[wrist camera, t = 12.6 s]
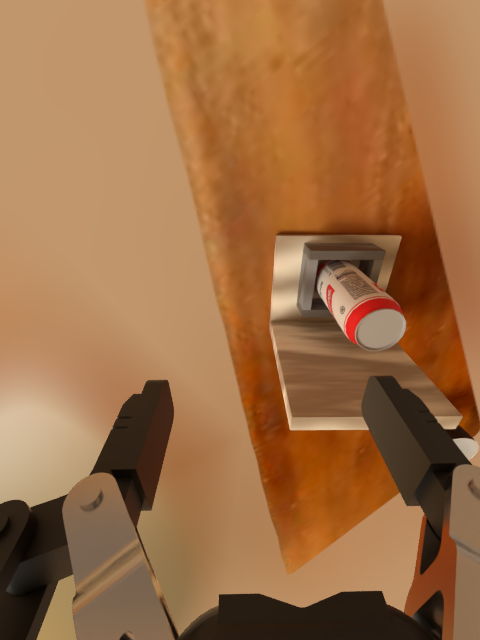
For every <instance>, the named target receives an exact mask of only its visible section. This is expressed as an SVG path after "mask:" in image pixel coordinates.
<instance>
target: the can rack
mask: <svg viewBox="0 0 480 640" xmlns="http://www.w3.org/2000/svg"><path fill="white" fill-rule="evenodd" d="M401 239H402V236H400V235H290V234H276V242H275V256H274V270H273V284H272V298H271V312H270V326H269V329H270V333H271V338H272V343H273V348H274V353H275V358H276V363H277V368H278V373H279V378H280V382H281V387H282V392H283V397H284V402H285V407H286V412H287V417H288V422H289V426H290V430H369V428H368V426H367V424H366V422H365V420H364V418H363V415H362V411H361V403H362V399H363V396H364V393H365V389H366V386H367V383H368V379H369V377H370V376H386V375H391V376H393V377H394V378H395V379H396V380H397V382H398V383H399V384H400V386H401V387H402V389H409V390H410V391H411V392H412V393H414V394H415V395H416V396H418V397H419V398H420V399H421V400H422V401H423V402H424V404H425V405H426V406H427V408H428V409H429V410H430V413H432V414H433V415H434V417H435V418H436V419H437V420H438V423H440V424H441V426H442V427H443V428H444V429H456V427H457V426H458V424H459V422H460V421H461V419H462V417H463V416H462V415H461V413H460V412H459V411H458V410H457V409H456V408H455V407H454V406H453V405H452V404H451V402H450V401H449V400H448V399H447V398H446V397H445V396H444V395H443V394H442V392H441V391H440V390H439V389H438V388H437V387H436V386H435V385H434V384H433V382H432V381H431V380H430V379H429V378H428V377H427V376H426V375H425V374H424V373H423V371H422V370H421V369H420V368H419V367H418V366H417V365H416V364H415V363H414V361H413V360H412V359H411V358H410V357H409V356H408V355H407V354H406V353H405V352H404V350H403V349H402V348H401V347H400V346H399V345H398V344H397V343H396V344H394V345H393V346H391V347H389V348H387V349H385V350H380V351H368V350H365V349H363V348H362V347H360V346H359V345H357V344H354V343H353V342H352V341H351V340H349V339H348V338H347V337H346V335H345V334H344V332H343V330H342V329H341V327H340V326H339V324H338V323H337V321H336V320H335V318H334V317H333V315H332V314H331V312H330V310H329V309H328V307H327V306H326V304H325V303H324V301H323V300H322V298H321V297H320V295H319V293H318V292H317V290H316V288H315V286H314V285H315V278H316V272H317V268H318V267H319V266H320V265H321V264H322V263H323V262H325V261H327V260H348V261H350V262H351V263H352V264H353V265H354V266H355V267H357V268H358V269H359V270H360V271H361V272H362V273H364V274H365V275H366V276H367V277H368V278H369V279H371V280H372V281H373V282H374V283H375V284H376V285H378V286H379V287H380V288H381V289H382V290H383V291H385V292H386V289H387V285H388V282H389V279H390V275H391V272H392V269H393V265H394V262H395V259H396V255H397V252H398V249H399V245H400V242H401Z"/></svg>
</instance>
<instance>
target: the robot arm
mask: <svg viewBox="0 0 480 640" xmlns="http://www.w3.org/2000/svg"><path fill="white" fill-rule="evenodd" d="M361 411H362V415H363V418H364V420H365V422H366V424H367V426H368V428H369V431H370V433H371V435H372V437H373V439H374V441H375V443H376V445H377V447H378V449H379V451H380V453H381V455H382V457H383V459H384V461H385V463H386V465H387V467H388V469H389V471H390V473H391V475H392V477H393V479H394V481H395V483H396V485H397V487H398V489H399V491H400V493H401V495H402V497H403V499H404V501H405V503H406V505H407V506H421V508H422V509H423V512H424V513H425V514H424V516H423V519H422V525H421V532H420V539H419V546H418V553H417V560H416V567H415V574H414V579H413V583H412V586H411V588H410V590H409V593H408V596H407V600H406V604H405V609H404V612H402V611H400V610H398V609H396V608H394V607H392V606H390V605H387V604H386V602H385V599H384V596H383V593H382V591H361V592H360V591H357V592H340V593H338V594H336V595H333V596H331V597H329V598H326V599H324V600H322V601H319V602H318V603H315V604H313V605H310V606H308V607H305V608H300V607H296V606H294V605H291V604H288V603H285V602H282V601H279V600H276V599H273V598H270V597H267V596H264V595H261V594H223V595H219V606H217V607H214V608H212V609H210V610H208V611H207V612H205V613H204V614H202V615H200V616H199V617H198V618H197V619H196V620H194V621H193V622H192V623H191V624H190V625H189V626H188V627H187V628H186V629H185V630H184V632H183V633H182V634H181V635H180V636H179V634H178V631H177V629H176V626H175V623H174V621H173V618H172V615H171V613H170V610H169V608H168V605H167V603H166V600H165V598H164V595H163V593H162V591H161V588H160V586H159V583H158V581H157V578H156V575H155V573H154V570H153V568H152V565H151V563H150V560H149V557H148V555H147V552H146V549H145V547H144V544H143V541H142V539H141V536H140V534H139V531H138V528H137V523H138V519H139V516H140V512H141V511H144V510H146V511H147V510H151V509H152V505H153V501H154V497H155V493H156V489H157V485H158V481H159V477H160V473H161V469H162V464H163V460H164V456H165V452H166V448H167V444H168V440H169V436H170V432H171V428H172V424H173V418H174V407H173V402H172V397H171V392H170V387H169V383H168V380H148V381H147V382H146V384H145V386H144V389H143V391H142V394H133V395H132V396H131V397H130V398H129V399H128V400H127V401H126V402H125V403H124V404H123V406H122V408H121V410H120V412H119V415H118V418H117V419H116V421H115V423H114V425H113V429H112V430H111V432H110V434H109V436H108V438H107V440H106V443H105V445H104V447H103V449H102V451H101V453H100V455H99V457H98V460H97V462H96V464H95V466H94V469H93V470H92V472H91V473H90V475H89V476H88V477H86V478H84V479H82V480H81V481H80V482H78V483H77V484H76V485H75V486H74V487H73V488H72V490H71V491H70V492H69V493H68V494H67V495H65V496H62V497H60V498H57V499H54V500H51V501H48V502H45V503H42V504H39V505H36V506H33V507H31V508H30V507H29V506H28V505H27V504H26V503H25V502H24V501H21V500H11V501H7V502H4V503H2V504H0V640H36V639H37V636H38V634H39V631H40V628H41V626H42V623H43V621H44V618H45V615H46V613H47V610H48V607H49V605H50V602H51V599H52V597H53V594H54V592H55V589H56V586H57V583H58V581H59V580H61V579H63V578H66V577H68V576H70V575H72V574H73V575H74V581H75V587H76V595H75V597H74V598H73V602H72V611H73V620H74V626H75V632H76V638H77V640H480V467H477V466H474V465H472V464H471V463H470V462H469V460H468V459H467V458H466V456H465V455H464V454H463V453H462V451H461V450H460V449H459V447H458V446H457V445H456V444H455V442H454V441H453V440H452V438H451V437H450V436H449V435H448V433H447V432H446V431H445V429H444V428H443V427H442V426H441V424H440V423H438V420H437V419H436V418H435V417H434V415H433V414H432V413H430V410H429V409H428V408H427V406H426V405H425V404H424V402H423V401H422V400H421V399H420V398H419V397H418V396H416V395H415V394H414V393H412V392H411V391H410V390H409V389H402V387H401V386H400V384H399V383H398V382H397V380H396V379H395V378H394V377H393V376H391V375H386V376H370V377H369V379H368V383H367V386H366V389H365V393H364V396H363V399H362V403H361Z"/></svg>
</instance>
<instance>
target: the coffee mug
mask: <svg viewBox="0 0 480 640" xmlns="http://www.w3.org/2000/svg"><path fill="white" fill-rule="evenodd" d="M445 431H446V432H447V433H448V435H449V436H450V437H451V438H452V440H453V441H454V442H455V444H456V445H457V446H458V447H459V449H460V450H461V451H462V453H463V454H464V455H465V456H466V458H467V459H468V460H470V459H471V458H473V457H474V456H475V455H476V454H477V452H478V450H479V444H478V443H477V442H476V441H475V440H474V439H473V438H472V437H471V436H470V435H469V434H468V433H467V432H466V431H465V430H464V429H463V428H462V427H460V426H459V425H458V426H457V427H456V429H445Z"/></svg>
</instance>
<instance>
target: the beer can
mask: <svg viewBox="0 0 480 640" xmlns="http://www.w3.org/2000/svg"><path fill="white" fill-rule="evenodd" d="M314 286H315V288H316V290H317V292H318V293H319V295H320V297H321V298H322V300H323V301H324V303H325V304H326V306H327V307H328V309H329V310H330V312H331V314H332V315H333V317H334V318H335V320H336V321H337V323H338V324H339V326H340V327H341V329H342V330H343V332H344V334H345V335H346V337H347V338H348V339H349V340H351V341H352V342H353V343H354V344H357V345H359V346H360V347H362V348H363V349H365V350H368V351H380V350H385V349H387V348H389V347H391V346H393V345H394V344H396V343H397V342H398V341H399V340H400V339H401V337H402V336H403V335H404V332H405V330H406V320H405V318H404V316H403V313H402V310H401V307H400V305H399V304H398V303H397V302H396V301H395V300H394V299H393V298H392V297H390V296H389V295H388V294H387V293H386V292H385V291H383V290H382V289H381V288H380V287H379V286H378V285H376V284H375V283H374V282H373V281H372V280H371V279H369V278H368V277H367V276H366V275H365V274H364V273H362V272H361V271H360V270H359V269H358V268H357V267H355V266H354V265H353V264H352V263H351V262H350V261H348V260H327V261H325V262H323V263H322V264H321V265H320V266H319V267H318V268H317V272H316V278H315V285H314Z"/></svg>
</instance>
